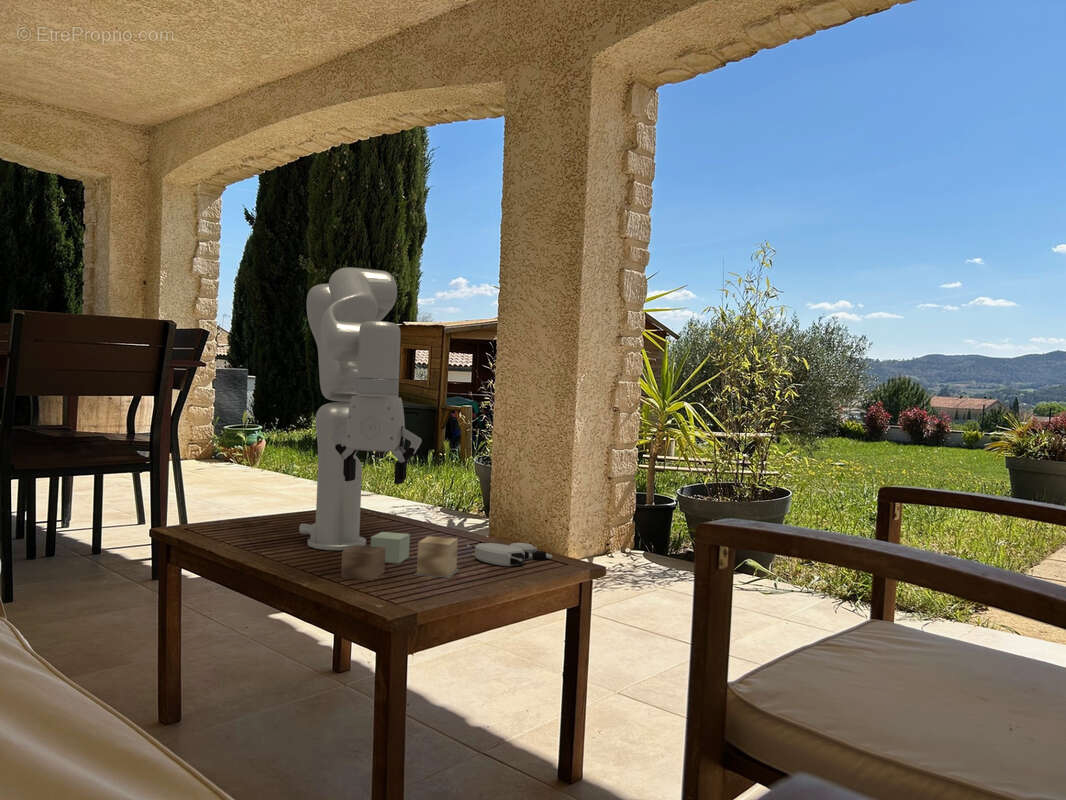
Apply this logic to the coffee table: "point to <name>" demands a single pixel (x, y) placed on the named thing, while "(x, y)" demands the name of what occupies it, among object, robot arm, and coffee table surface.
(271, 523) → the coffee table surface
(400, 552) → the sage block
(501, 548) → the robot toy
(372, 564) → the walnut block
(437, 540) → the oak block
